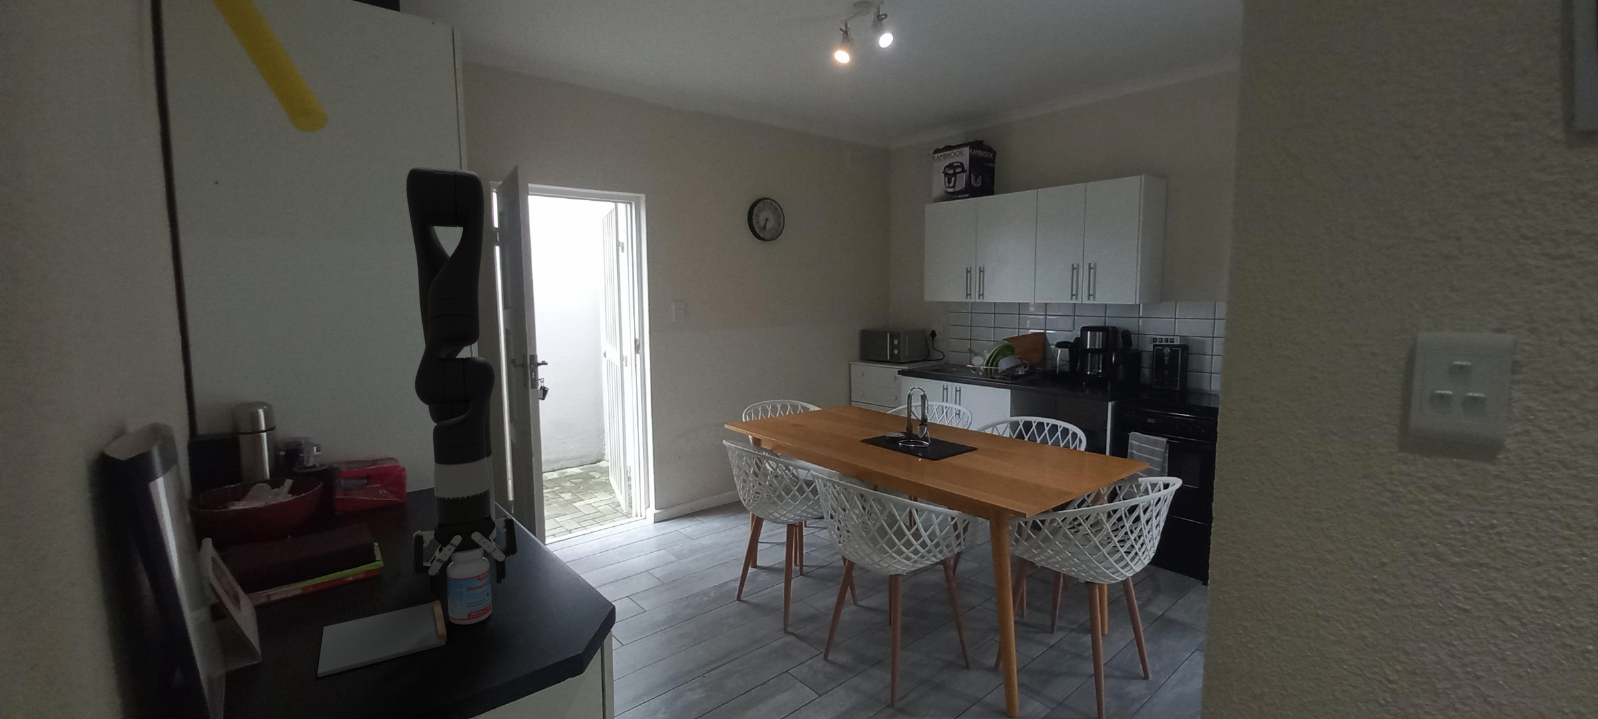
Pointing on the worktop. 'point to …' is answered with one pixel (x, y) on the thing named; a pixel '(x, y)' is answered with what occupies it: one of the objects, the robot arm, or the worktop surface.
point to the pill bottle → (469, 587)
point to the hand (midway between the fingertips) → (468, 588)
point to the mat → (378, 639)
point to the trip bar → (439, 620)
